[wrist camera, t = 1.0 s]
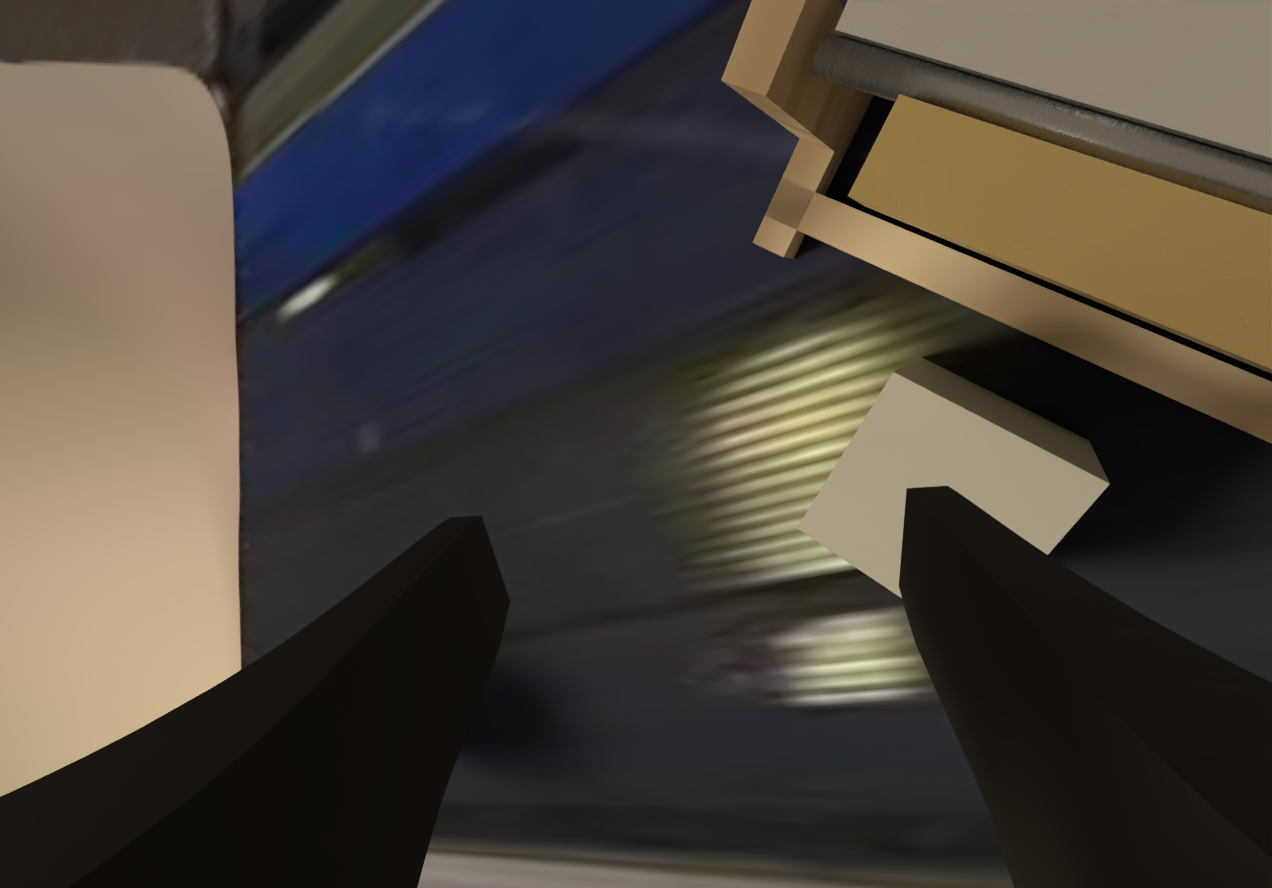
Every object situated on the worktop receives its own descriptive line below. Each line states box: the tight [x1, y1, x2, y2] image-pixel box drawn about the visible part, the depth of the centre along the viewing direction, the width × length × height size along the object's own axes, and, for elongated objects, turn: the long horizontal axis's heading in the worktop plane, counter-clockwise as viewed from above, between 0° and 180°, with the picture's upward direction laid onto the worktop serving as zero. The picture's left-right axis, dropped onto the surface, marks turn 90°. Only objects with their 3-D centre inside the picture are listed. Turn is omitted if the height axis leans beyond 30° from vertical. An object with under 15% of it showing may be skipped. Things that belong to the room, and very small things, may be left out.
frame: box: [722, 0, 1272, 443], centre depth 13 cm, size 18×6×7 cm, turn 64°
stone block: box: [797, 358, 1110, 598], centre depth 17 cm, size 5×5×5 cm
